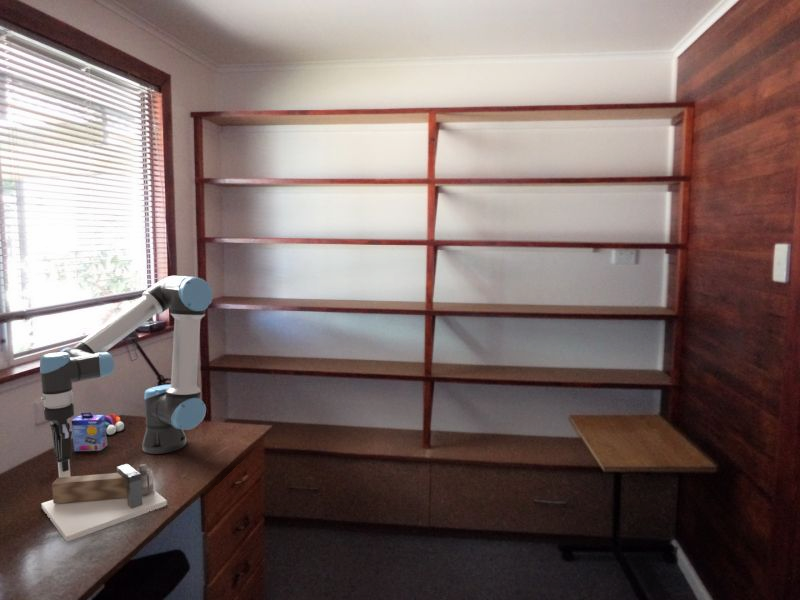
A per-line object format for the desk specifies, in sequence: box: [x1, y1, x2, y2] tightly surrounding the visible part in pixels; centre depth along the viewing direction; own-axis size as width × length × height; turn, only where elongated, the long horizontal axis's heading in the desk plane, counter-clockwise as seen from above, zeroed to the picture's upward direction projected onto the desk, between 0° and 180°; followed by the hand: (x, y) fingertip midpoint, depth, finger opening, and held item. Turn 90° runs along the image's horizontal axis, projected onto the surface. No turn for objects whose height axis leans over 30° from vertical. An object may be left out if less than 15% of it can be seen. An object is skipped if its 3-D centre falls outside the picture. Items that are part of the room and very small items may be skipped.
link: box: [51, 463, 155, 503], centre depth 159 cm, size 27×5×8 cm, turn 101°
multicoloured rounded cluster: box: [105, 413, 125, 436], centre depth 216 cm, size 8×10×7 cm
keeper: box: [116, 463, 142, 509], centre depth 157 cm, size 3×10×11 cm, turn 46°
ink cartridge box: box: [71, 411, 108, 452], centre depth 199 cm, size 10×6×14 cm, turn 95°
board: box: [40, 489, 168, 543], centre depth 157 cm, size 26×25×2 cm
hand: (65, 479), depth 162 cm, fingers closed
